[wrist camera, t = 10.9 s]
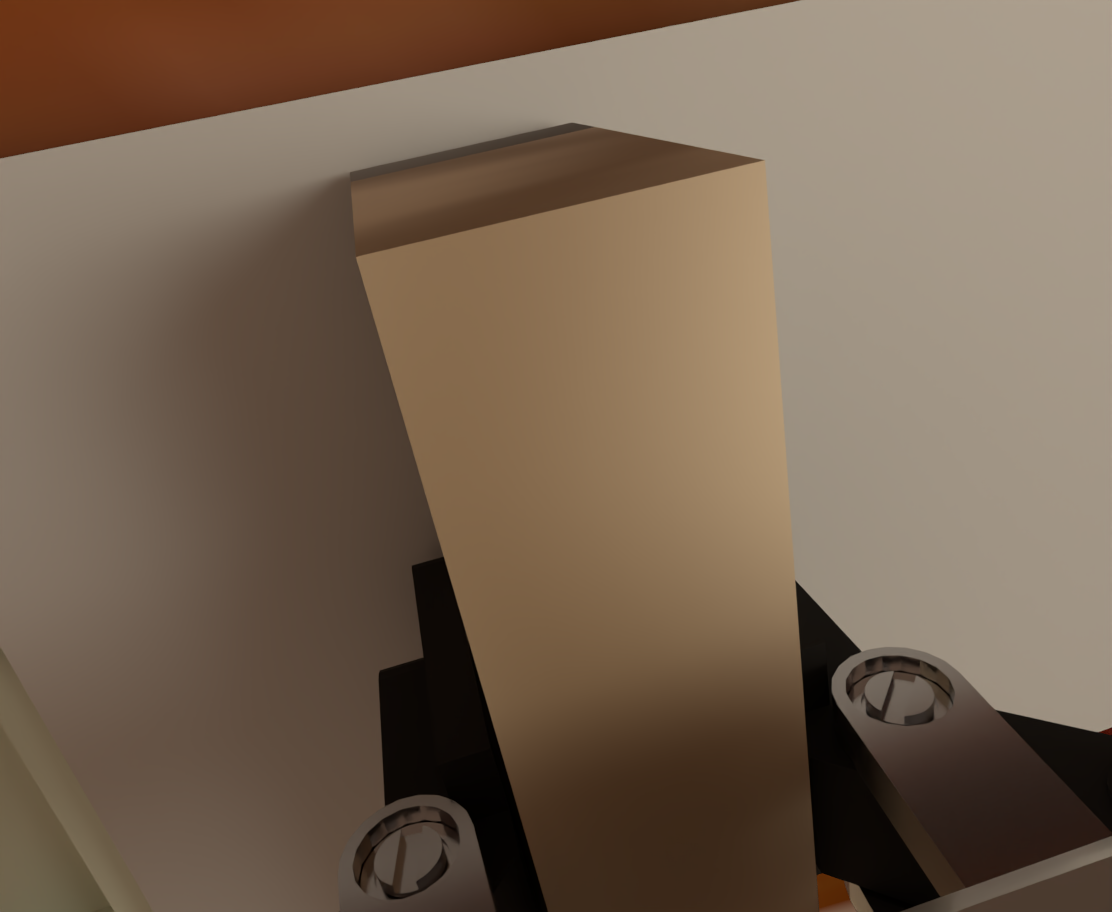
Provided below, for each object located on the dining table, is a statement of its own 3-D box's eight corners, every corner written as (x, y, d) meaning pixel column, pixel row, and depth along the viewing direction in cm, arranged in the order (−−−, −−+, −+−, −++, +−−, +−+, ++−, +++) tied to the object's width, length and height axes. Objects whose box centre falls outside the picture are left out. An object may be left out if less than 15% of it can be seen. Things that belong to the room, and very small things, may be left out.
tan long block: (572, 122, 10) (764, 160, 5) (696, 868, 15) (839, 1188, 11) (349, 171, 9) (357, 257, 5) (561, 915, 15) (652, 1263, 11)
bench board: (1129, -64, 15) (1379, -114, 11) (1064, 588, 21) (1215, 691, 17) (-78, 175, 12) (-253, 209, 8) (248, 850, 18) (226, 1038, 14)
